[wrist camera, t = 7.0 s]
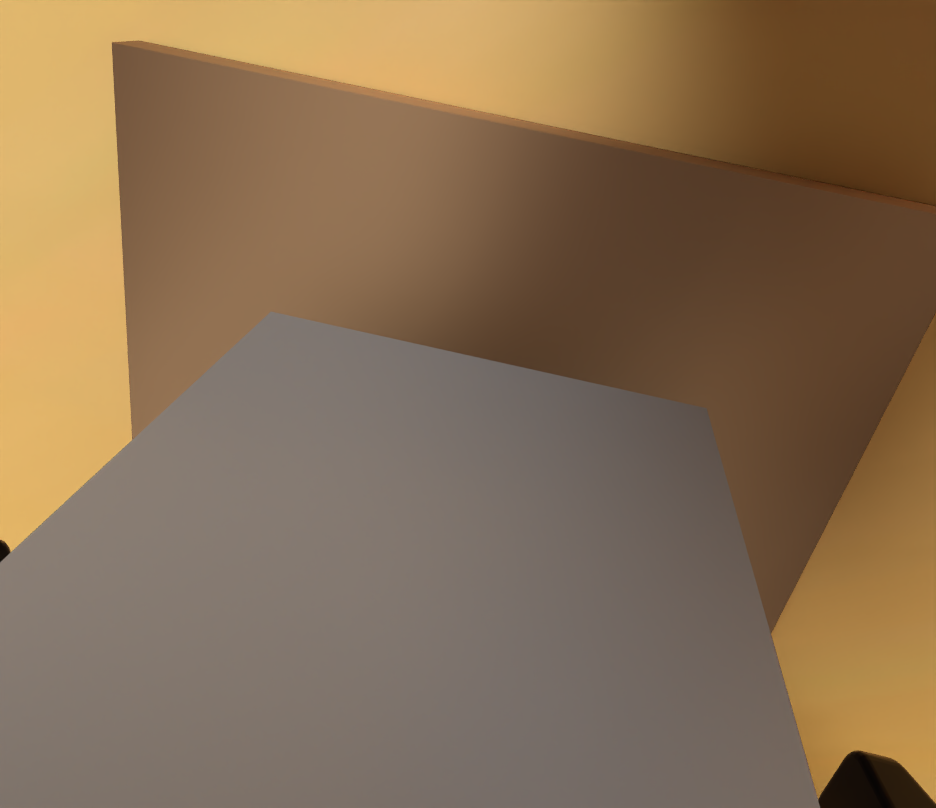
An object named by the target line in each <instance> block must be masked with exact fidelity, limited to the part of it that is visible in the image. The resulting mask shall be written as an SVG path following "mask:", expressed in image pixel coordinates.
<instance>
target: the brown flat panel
mask: <svg viewBox="0 0 936 808" xmlns="http://www.w3.org/2000/svg"><path fill="white" fill-rule="evenodd" d="M112 55H113V75H114V94H115V113H116V132H117V152H118V171H119V190H120V210H121V229H122V248H123V268H124V287H125V306H126V326H127V345H128V364H129V383H130V403H131V422H132V440H133V439H134V438H135V437H136V436H137V435H138V434H139V433H140V432H141V431H143V430H144V429H145V428H146V427H147V426H148V425H149V424H150V423H151V422H152V421H153V420H154V419H156V418H157V417H158V416H159V415H160V414H161V413H162V412H163V411H164V410H165V409H166V408H167V407H168V406H170V405H171V404H172V403H173V402H174V401H175V400H176V399H177V398H178V397H179V396H180V395H181V394H182V393H184V392H185V391H186V390H187V389H188V388H189V387H190V386H191V385H192V384H193V383H194V382H195V381H197V380H198V379H199V378H200V377H201V376H202V375H203V374H204V373H205V372H206V371H207V370H208V369H209V368H211V367H212V366H213V365H214V364H215V363H216V362H217V361H218V360H219V359H220V358H221V357H222V356H224V355H225V354H226V353H227V352H228V351H229V350H230V349H231V348H232V347H233V346H234V345H235V344H236V343H238V342H239V341H240V340H241V339H242V338H243V337H244V336H245V335H246V334H247V333H248V332H249V331H251V330H252V329H253V328H254V327H255V326H256V325H257V324H258V323H259V322H260V321H261V320H262V319H263V318H265V317H266V316H267V315H268V314H269V313H270V312H275V313H280V314H284V315H289V316H293V317H298V318H302V319H307V320H311V321H316V322H320V323H325V324H329V325H334V326H338V327H343V328H347V329H352V330H356V331H361V332H365V333H370V334H374V335H379V336H383V337H388V338H392V339H397V340H401V341H406V342H410V343H415V344H419V345H424V346H428V347H433V348H437V349H442V350H446V351H451V352H455V353H460V354H464V355H469V356H473V357H478V358H482V359H487V360H491V361H496V362H500V363H505V364H509V365H514V366H518V367H523V368H527V369H532V370H536V371H541V372H546V373H550V374H555V375H559V376H564V377H568V378H573V379H577V380H582V381H586V382H591V383H595V384H600V385H604V386H609V387H613V388H618V389H622V390H627V391H631V392H636V393H640V394H645V395H649V396H654V397H658V398H663V399H667V400H672V401H676V402H681V403H685V404H690V405H694V406H699V407H703V408H707V412H708V415H709V419H710V422H711V426H712V429H713V433H714V436H715V440H716V443H717V447H718V450H719V454H720V457H721V461H722V464H723V468H724V471H725V475H726V478H727V482H728V485H729V489H730V492H731V496H732V499H733V503H734V506H735V510H736V513H737V517H738V520H739V524H740V527H741V531H742V535H743V538H744V542H745V545H746V549H747V552H748V556H749V559H750V563H751V566H752V570H753V573H754V577H755V580H756V584H757V587H758V591H759V594H760V598H761V601H762V605H763V608H764V612H765V615H766V619H767V622H768V626H769V629H770V633H771V632H772V630H773V629H774V627H775V625H776V623H777V621H778V619H779V617H780V615H781V613H782V611H783V609H784V607H785V605H786V603H787V601H788V599H789V597H790V595H791V593H792V592H793V590H794V588H795V586H796V584H797V582H798V580H799V578H800V576H801V574H802V572H803V570H804V568H805V566H806V564H807V562H808V560H809V558H810V556H811V554H812V553H813V551H814V549H815V547H816V545H817V543H818V541H819V539H820V537H821V535H822V533H823V531H824V529H825V527H826V525H827V523H828V521H829V519H830V517H831V516H832V514H833V512H834V510H835V508H836V506H837V504H838V502H839V500H840V498H841V496H842V494H843V492H844V490H845V488H846V486H847V484H848V482H849V480H850V479H851V477H852V475H853V473H854V471H855V469H856V467H857V465H858V463H859V461H860V459H861V457H862V455H863V453H864V451H865V449H866V447H867V445H868V443H869V441H870V440H871V438H872V436H873V434H874V432H875V430H876V428H877V426H878V424H879V422H880V420H881V418H882V416H883V414H884V412H885V410H886V408H887V406H888V404H889V403H890V401H891V399H892V397H893V395H894V393H895V391H896V389H897V387H898V385H899V383H900V381H901V379H902V377H903V375H904V373H905V371H906V369H907V367H908V366H909V364H910V362H911V360H912V358H913V356H914V354H915V352H916V350H917V348H918V346H919V344H920V342H921V340H922V338H923V336H924V334H925V332H926V330H927V328H928V327H929V325H930V323H931V321H932V319H933V317H934V315H935V313H936V206H933V205H928V204H923V203H918V202H913V201H908V200H904V199H899V198H894V197H889V196H884V195H880V194H875V193H870V192H865V191H860V190H855V189H851V188H846V187H841V186H836V185H831V184H827V183H822V182H817V181H812V180H807V179H803V178H798V177H793V176H788V175H783V174H778V173H774V172H769V171H764V170H759V169H754V168H750V167H745V166H740V165H735V164H730V163H726V162H721V161H716V160H711V159H706V158H701V157H697V156H692V155H687V154H682V153H677V152H673V151H668V150H663V149H658V148H653V147H649V146H644V145H639V144H634V143H629V142H624V141H620V140H615V139H610V138H605V137H600V136H596V135H591V134H586V133H581V132H576V131H571V130H567V129H562V128H557V127H552V126H547V125H543V124H538V123H533V122H528V121H523V120H519V119H514V118H509V117H504V116H499V115H494V114H490V113H485V112H480V111H475V110H470V109H466V108H461V107H456V106H451V105H446V104H442V103H437V102H432V101H427V100H422V99H417V98H413V97H408V96H403V95H398V94H393V93H389V92H384V91H379V90H374V89H369V88H365V87H360V86H355V85H350V84H345V83H340V82H336V81H331V80H326V79H321V78H316V77H312V76H307V75H302V74H297V73H292V72H287V71H283V70H278V69H273V68H268V67H263V66H259V65H254V64H249V63H244V62H239V61H235V60H230V59H225V58H220V57H215V56H210V55H206V54H201V53H196V52H191V51H186V50H182V49H177V48H172V47H167V46H162V45H158V44H153V43H148V42H143V41H127V42H112Z"/></svg>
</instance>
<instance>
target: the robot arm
mask: <svg viewBox="0 0 936 808" xmlns="http://www.w3.org/2000/svg"><path fill="white" fill-rule="evenodd" d="M10 553H11V552H10V549H9V547H8V545H7V544H6V543H5V542H4V541H2V540H0V562H1V561H2V560H3V559H4V558H5V557H7V556H8V555H9V554H10ZM818 802H819V805H820V808H936V803H935V802H934V801H933V800H932V799H931V798H930V796H929V795H928V794H927V793H926V792H925V791H924V790H923V789H922V787H921V786H920V785H919V784H918V783H917V782H916V781H915V780H914V778H913V777H912V776H911V775H910V774H909V773H908V772H907V770H906V769H905V768H904V767H903V766H902V765H901V764H899V763H898V762H897V761H895V760H893V759H891V758H888V757H884V756H880V755H876V754H872V753H868V752H864V751H853V752H851V753H849V754H848V755H847V756H846V757H845V758H844V760H843V762H842V763H841V765H840V766H839V768H838V769H837V771H836V772H835V774H834V775H833V777H832V778H831V780H830V781H829V783H828V784H827V786H826V788H825V789H824V791H823V792H822V794H821V795H820V798H819V800H818Z"/></svg>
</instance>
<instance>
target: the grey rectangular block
mask: <svg viewBox="0 0 936 808" xmlns="http://www.w3.org/2000/svg"><path fill="white" fill-rule="evenodd" d="M0 808H820V805H819V802H818V798H817V795H816V791H815V788H814V784H813V781H812V777H811V774H810V770H809V766H808V763H807V759H806V756H805V752H804V749H803V745H802V742H801V738H800V735H799V731H798V728H797V724H796V721H795V717H794V714H793V710H792V707H791V703H790V700H789V696H788V693H787V689H786V686H785V682H784V679H783V675H782V672H781V668H780V665H779V661H778V658H777V654H776V651H775V647H774V643H773V640H772V636H771V633H770V629H769V626H768V622H767V619H766V615H765V612H764V608H763V605H762V601H761V598H760V594H759V591H758V587H757V584H756V580H755V577H754V573H753V570H752V566H751V563H750V559H749V556H748V552H747V549H746V545H745V542H744V538H743V535H742V531H741V527H740V524H739V520H738V517H737V513H736V510H735V506H734V503H733V499H732V496H731V492H730V489H729V485H728V482H727V478H726V475H725V471H724V468H723V464H722V461H721V457H720V454H719V450H718V447H717V443H716V440H715V436H714V433H713V429H712V426H711V422H710V419H709V415H708V412H707V408H703V407H699V406H694V405H690V404H685V403H681V402H676V401H672V400H667V399H663V398H658V397H654V396H649V395H645V394H640V393H636V392H631V391H627V390H622V389H618V388H613V387H609V386H604V385H600V384H595V383H591V382H586V381H582V380H577V379H573V378H568V377H564V376H559V375H555V374H550V373H546V372H541V371H536V370H532V369H527V368H523V367H518V366H514V365H509V364H505V363H500V362H496V361H491V360H487V359H482V358H478V357H473V356H469V355H464V354H460V353H455V352H451V351H446V350H442V349H437V348H433V347H428V346H424V345H419V344H415V343H410V342H406V341H401V340H397V339H392V338H388V337H383V336H379V335H374V334H370V333H365V332H361V331H356V330H352V329H347V328H343V327H338V326H334V325H329V324H325V323H320V322H316V321H311V320H307V319H302V318H298V317H293V316H289V315H284V314H280V313H275V312H270V313H269V314H268V315H267V316H266V317H265V318H263V319H262V320H261V321H260V322H259V323H258V324H257V325H256V326H255V327H254V328H253V329H252V330H251V331H249V332H248V333H247V334H246V335H245V336H244V337H243V338H242V339H241V340H240V341H239V342H238V343H236V344H235V345H234V346H233V347H232V348H231V349H230V350H229V351H228V352H227V353H226V354H225V355H224V356H222V357H221V358H220V359H219V360H218V361H217V362H216V363H215V364H214V365H213V366H212V367H211V368H209V369H208V370H207V371H206V372H205V373H204V374H203V375H202V376H201V377H200V378H199V379H198V380H197V381H195V382H194V383H193V384H192V385H191V386H190V387H189V388H188V389H187V390H186V391H185V392H184V393H182V394H181V395H180V396H179V397H178V398H177V399H176V400H175V401H174V402H173V403H172V404H171V405H170V406H168V407H167V408H166V409H165V410H164V411H163V412H162V413H161V414H160V415H159V416H158V417H157V418H156V419H154V420H153V421H152V422H151V423H150V424H149V425H148V426H147V427H146V428H145V429H144V430H143V431H141V432H140V433H139V434H138V435H137V436H136V437H135V438H134V439H133V440H132V441H131V442H130V443H129V444H127V445H126V446H125V447H124V448H123V449H122V450H121V451H120V452H119V453H118V454H117V455H116V456H114V457H113V458H112V459H111V460H110V461H109V462H108V463H107V464H106V465H105V466H104V467H103V468H102V469H100V470H99V471H98V472H97V473H96V474H95V475H94V476H93V477H92V478H91V479H90V480H89V481H87V482H86V483H85V484H84V485H83V486H82V487H81V488H80V489H79V490H78V491H77V492H76V493H75V494H73V495H72V496H71V497H70V498H69V499H68V500H67V501H66V502H65V503H64V504H63V505H62V506H61V507H59V508H58V509H57V510H56V511H55V512H54V513H53V514H52V515H51V516H50V517H49V518H48V519H46V520H45V521H44V522H43V523H42V524H41V525H40V526H39V527H38V528H37V529H36V530H35V531H34V532H32V533H31V534H30V535H29V536H28V537H27V538H26V539H25V540H24V541H23V542H22V543H21V544H19V545H18V546H17V547H16V548H15V549H14V550H13V551H12V552H11V553H10V554H9V555H8V556H7V557H5V558H4V559H3V560H2V561H1V562H0Z"/></svg>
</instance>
